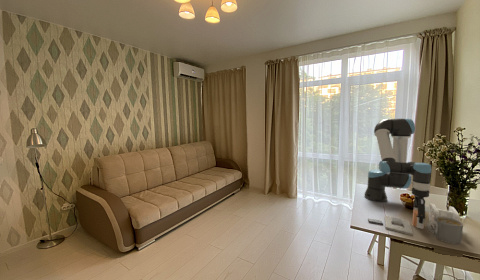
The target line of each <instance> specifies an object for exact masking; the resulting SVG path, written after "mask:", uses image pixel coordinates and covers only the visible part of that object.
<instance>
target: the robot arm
mask: <svg viewBox="0 0 480 280" xmlns="http://www.w3.org/2000/svg"><path fill="white" fill-rule="evenodd" d="M415 131H416V124H415V121H414V120H413V119H411V118H385V119H382V120H380V121H379V122H378V123H377V124H376V125H375V127H374V131H373V133H374V137H375V138H376V140H377V141H376V142H377V145H378V150H379V153H380V154H379V155H380V158H381V161H379V162H378V169H376V168H375V169H370V170H368V173H367V188H366V190H365V191H364V197H365V198H366V199H367V198H368V200H371V201H374V202H381V203H382V202H383V203H384V202H387V201H388V195H387V192H386V188H391V189H392V188H394V189H399V190H400V189H401V190H402V189H403V190H404V189H405V190H406V189H409V188H410V186H411V185H412V188H411V194H412V195H413V196H414V199H413V210H417V211H418V216H416V217H417V227H416V228H418V229H421V230H422V229H424V226H425V225H424V224H425V219H426V199H425V198H429V196H430V188H431V178H432V170H433V169H432V165H431V164H429V163H427V162H415V161H408V162H407V158H408V157H407V156H408V144H409V143H408V142H409V138H411V137H412V135H413V134H415ZM391 137H392V139H393V140H392V141H393V142H392V141H391ZM421 215H422V216H421Z"/></svg>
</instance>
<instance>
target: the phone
mask: <svg viewBox="0 0 480 280" xmlns="http://www.w3.org/2000/svg"><path fill="white" fill-rule="evenodd" d="M367 221H368V223H369V224H375V225H380V226H383V225H384V222H383V221H382V220H381V219H375V218H367Z"/></svg>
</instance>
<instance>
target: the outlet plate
mask: <svg viewBox="0 0 480 280" xmlns="http://www.w3.org/2000/svg"><path fill="white" fill-rule="evenodd" d="M384 224H385V226H384V227H385V229H386V230H390V231H392V232H393V231H394V232H398V233H402V234H405V235H409V236H413V233H414V232H413V230H412V227H411V224H410V221H409V220H406V219H401V218H397V217H393V216H390V215H389V216H388V215H384ZM393 224H395V225H393ZM396 225H398V226H396ZM400 226H402V227H400Z"/></svg>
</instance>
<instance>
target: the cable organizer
mask: <svg viewBox="0 0 480 280" xmlns="http://www.w3.org/2000/svg"><path fill="white" fill-rule="evenodd" d="M428 207H429V211H428V219H429V220H428V221H435V218H436V217H437V216H443V217H449V218H452V219H455V220H458V221H461V220H460V213H458V211H457V210H456V208H455V207H454V206H449V207H448V210H446V209H441V208H438V207H437V206H436V205H435V203H432V202H431V203H429V206H428ZM431 227H432V229H434V228H435V225H434V224H432V225H431Z"/></svg>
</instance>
